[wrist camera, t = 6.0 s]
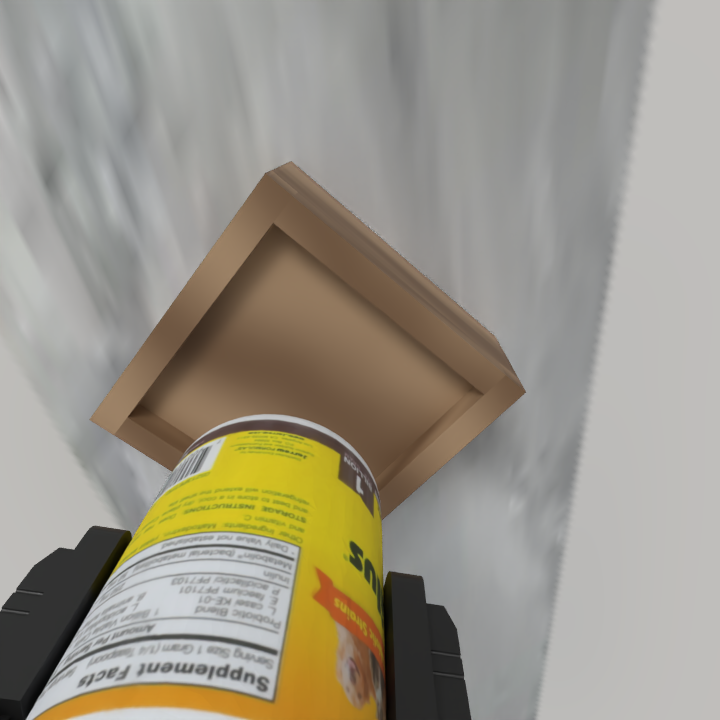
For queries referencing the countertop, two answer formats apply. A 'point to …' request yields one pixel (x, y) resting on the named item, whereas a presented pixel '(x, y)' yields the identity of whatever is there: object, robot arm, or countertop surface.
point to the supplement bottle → (241, 590)
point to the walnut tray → (314, 345)
